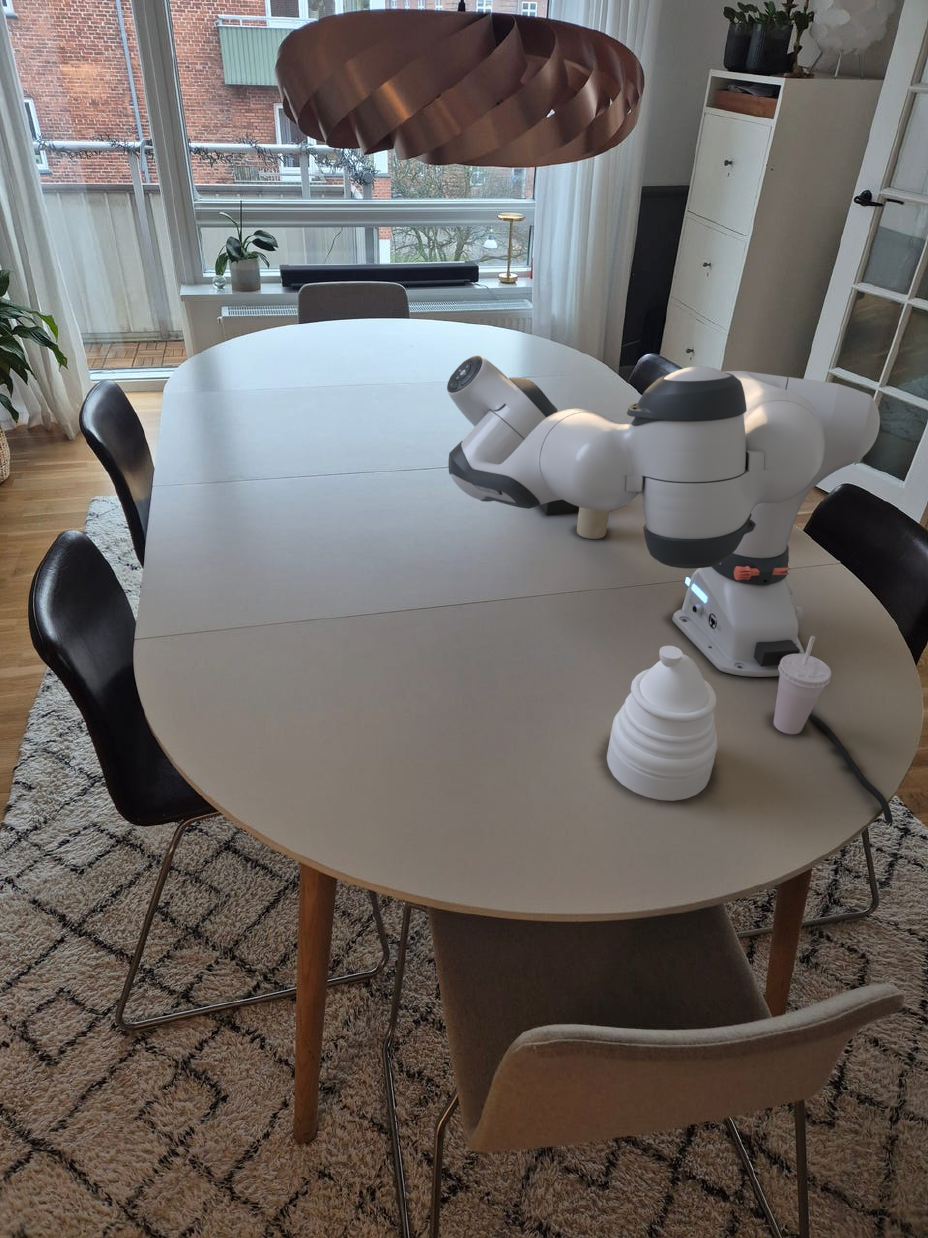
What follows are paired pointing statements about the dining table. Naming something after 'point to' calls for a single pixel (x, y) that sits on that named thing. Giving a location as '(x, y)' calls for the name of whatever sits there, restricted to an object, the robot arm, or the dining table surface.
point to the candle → (592, 523)
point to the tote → (558, 507)
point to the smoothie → (799, 689)
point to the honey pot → (665, 731)
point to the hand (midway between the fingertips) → (559, 475)
